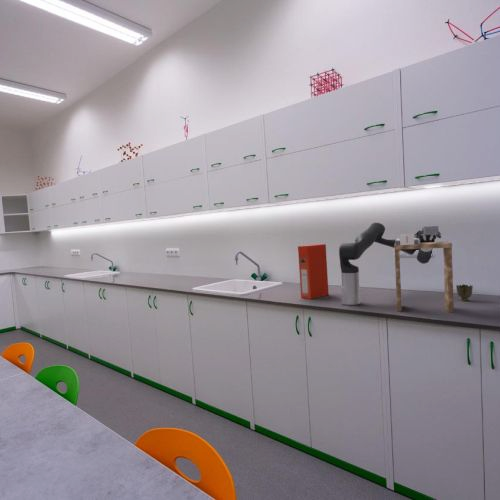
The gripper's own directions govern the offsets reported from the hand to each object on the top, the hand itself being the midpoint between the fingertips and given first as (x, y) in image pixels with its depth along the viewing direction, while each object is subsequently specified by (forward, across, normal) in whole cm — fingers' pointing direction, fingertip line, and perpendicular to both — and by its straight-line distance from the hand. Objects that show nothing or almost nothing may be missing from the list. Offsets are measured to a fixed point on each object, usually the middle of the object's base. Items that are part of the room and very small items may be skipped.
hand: (428, 228), depth 188 cm
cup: (-22, +16, +33) cm, 42 cm away
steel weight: (+2, 0, +5) cm, 5 cm away
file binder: (-28, -64, +29) cm, 76 cm away
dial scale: (+13, -12, +16) cm, 24 cm away
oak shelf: (-2, -5, +43) cm, 44 cm away
